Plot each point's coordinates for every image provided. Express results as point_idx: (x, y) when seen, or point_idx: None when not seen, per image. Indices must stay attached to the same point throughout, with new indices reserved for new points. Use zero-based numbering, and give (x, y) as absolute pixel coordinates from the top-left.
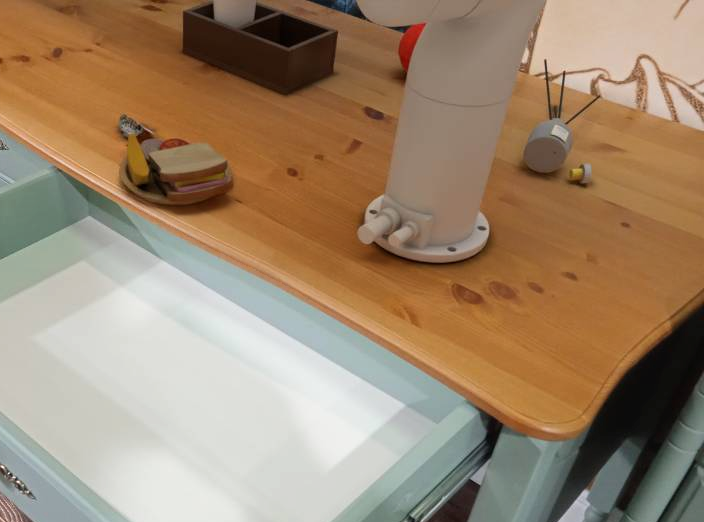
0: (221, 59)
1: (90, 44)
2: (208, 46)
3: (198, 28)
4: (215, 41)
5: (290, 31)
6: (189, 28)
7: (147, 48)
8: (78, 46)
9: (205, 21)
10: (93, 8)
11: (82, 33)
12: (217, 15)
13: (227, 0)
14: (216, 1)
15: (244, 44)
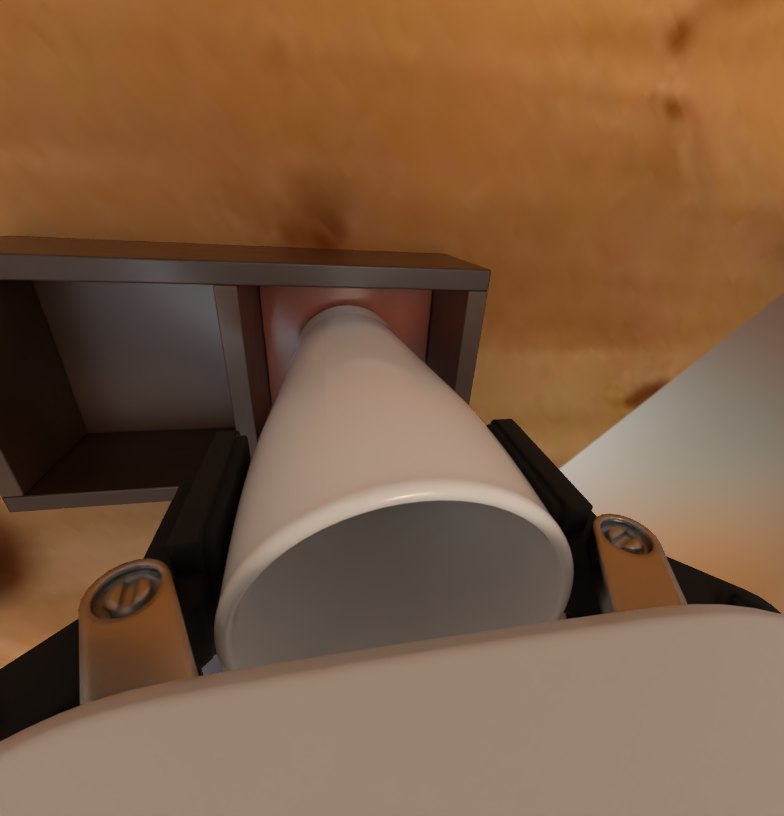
0: (290, 250)
1: (694, 90)
2: (349, 254)
3: (402, 261)
4: (318, 256)
5: None
6: (442, 262)
7: (539, 202)
8: (721, 43)
9: (375, 265)
10: (772, 300)
11: (745, 144)
12: (370, 326)
13: (324, 345)
14: (380, 336)
15: (167, 254)
